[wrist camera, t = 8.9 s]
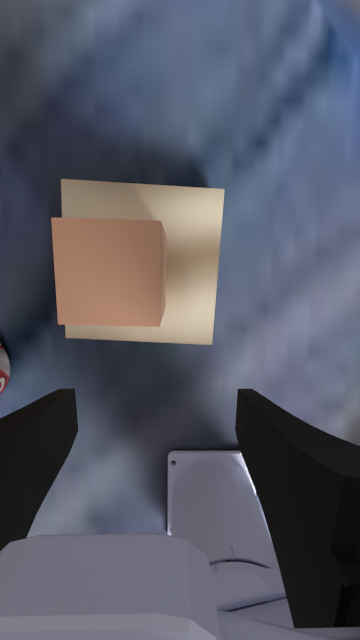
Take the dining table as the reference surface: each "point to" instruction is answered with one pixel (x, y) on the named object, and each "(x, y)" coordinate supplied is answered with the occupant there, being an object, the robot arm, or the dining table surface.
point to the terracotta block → (109, 271)
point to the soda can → (4, 369)
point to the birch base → (181, 260)
